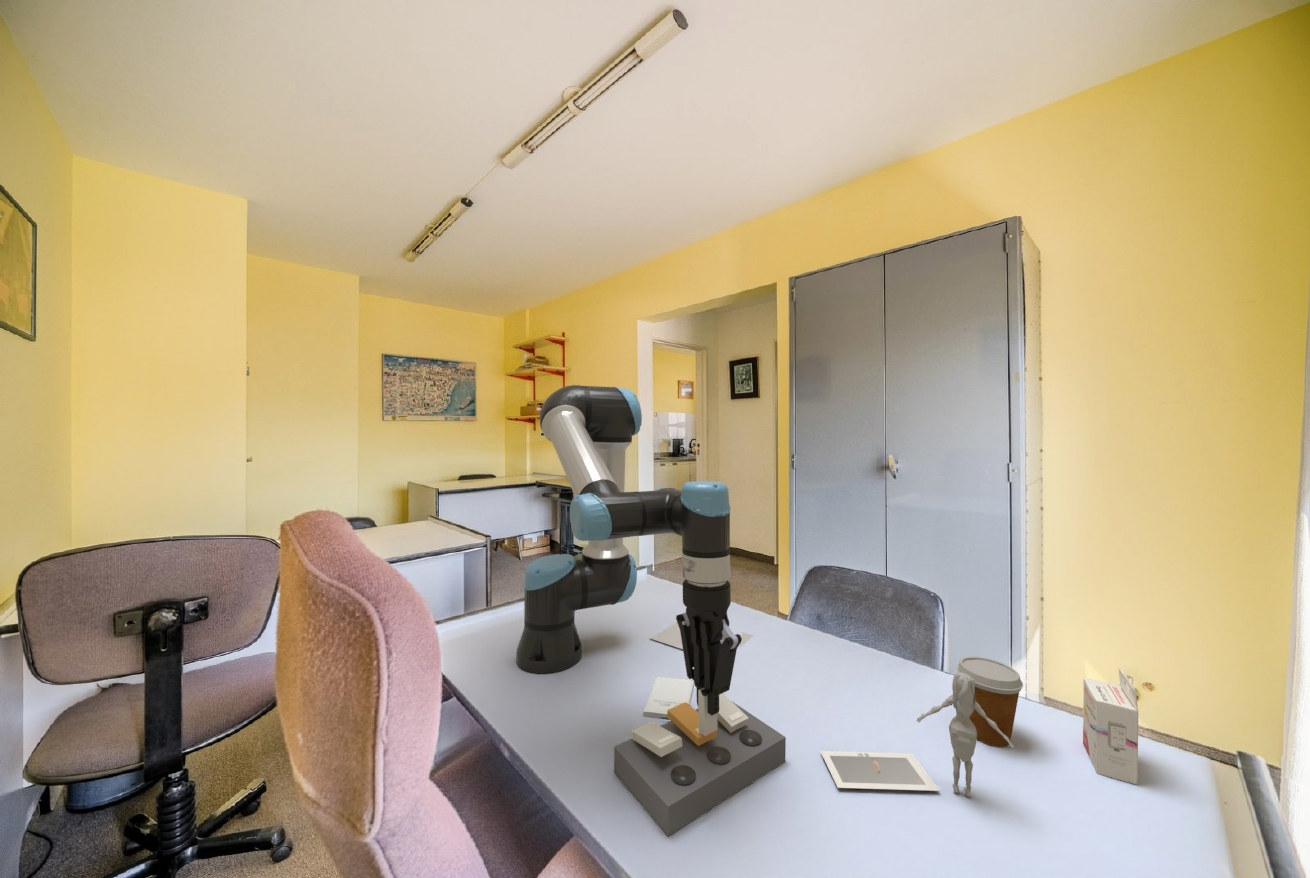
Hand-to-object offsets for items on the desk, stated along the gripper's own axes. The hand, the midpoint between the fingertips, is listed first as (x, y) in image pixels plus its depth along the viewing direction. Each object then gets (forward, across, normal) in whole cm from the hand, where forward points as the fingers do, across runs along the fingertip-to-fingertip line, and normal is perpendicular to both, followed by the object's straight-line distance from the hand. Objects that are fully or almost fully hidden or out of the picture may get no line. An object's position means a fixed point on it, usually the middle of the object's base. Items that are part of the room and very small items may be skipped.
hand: (708, 730), depth 71 cm
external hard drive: (+7, -19, +7) cm, 22 cm away
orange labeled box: (+2, -4, 0) cm, 4 cm away
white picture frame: (+8, +15, +22) cm, 28 cm away
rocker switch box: (+7, -2, 0) cm, 7 cm away
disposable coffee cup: (+8, +22, +47) cm, 52 cm away
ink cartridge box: (+8, +36, +55) cm, 66 cm away
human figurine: (+8, +25, +28) cm, 38 cm away
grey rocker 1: (+2, -4, -7) cm, 8 cm away
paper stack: (+6, -35, +34) cm, 49 cm away
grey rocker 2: (+2, -4, +7) cm, 8 cm away
